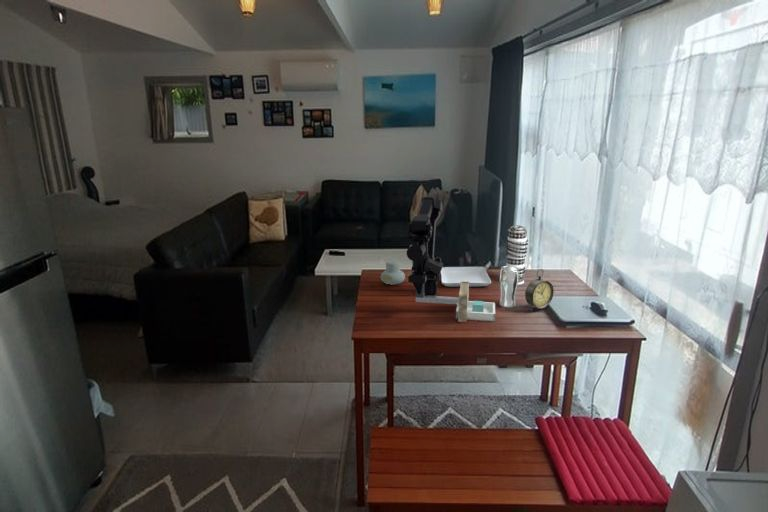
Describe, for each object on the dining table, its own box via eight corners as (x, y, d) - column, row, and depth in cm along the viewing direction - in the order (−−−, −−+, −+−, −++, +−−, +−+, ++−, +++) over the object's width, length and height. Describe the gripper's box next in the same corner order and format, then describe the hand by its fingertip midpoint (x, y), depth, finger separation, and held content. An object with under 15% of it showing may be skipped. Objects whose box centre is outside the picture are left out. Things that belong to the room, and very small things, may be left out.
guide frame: (458, 321, 168) (458, 296, 165) (460, 305, 182) (461, 281, 179) (466, 322, 168) (467, 296, 165) (468, 305, 182) (469, 281, 179)
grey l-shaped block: (415, 302, 176) (415, 283, 174) (416, 299, 179) (416, 280, 177) (462, 305, 173) (462, 286, 170) (462, 302, 175) (463, 283, 173)
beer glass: (517, 308, 178) (519, 272, 174) (498, 307, 179) (500, 271, 175) (516, 301, 184) (518, 266, 180) (498, 300, 186) (500, 265, 181)
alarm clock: (531, 314, 173) (535, 273, 168) (521, 309, 178) (524, 269, 173) (553, 308, 178) (556, 268, 173) (542, 303, 182) (545, 264, 178)
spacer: (472, 304, 171) (483, 305, 170) (472, 300, 175) (483, 301, 174) (472, 314, 172) (483, 315, 172) (472, 310, 176) (483, 311, 175)
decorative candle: (527, 285, 202) (532, 229, 194) (506, 285, 202) (509, 229, 195) (522, 277, 211) (525, 224, 203) (501, 278, 211) (504, 224, 203)
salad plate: (441, 289, 200) (441, 282, 199) (439, 273, 220) (439, 266, 219) (491, 289, 198) (492, 282, 197) (484, 273, 218) (484, 266, 217)
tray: (455, 318, 171) (455, 311, 170) (457, 307, 181) (457, 300, 180) (494, 321, 168) (495, 314, 167) (494, 309, 178) (494, 302, 177)
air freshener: (408, 283, 207) (408, 261, 204) (396, 288, 201) (396, 266, 198) (389, 277, 214) (389, 257, 211) (377, 282, 208) (377, 261, 205)
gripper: (439, 261, 161) (438, 303, 166) (444, 246, 179) (443, 284, 183) (407, 260, 164) (408, 301, 168) (415, 245, 181) (415, 283, 186)
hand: (420, 292), depth 176 cm, fingers closed on grey l-shaped block, 3 cm apart
